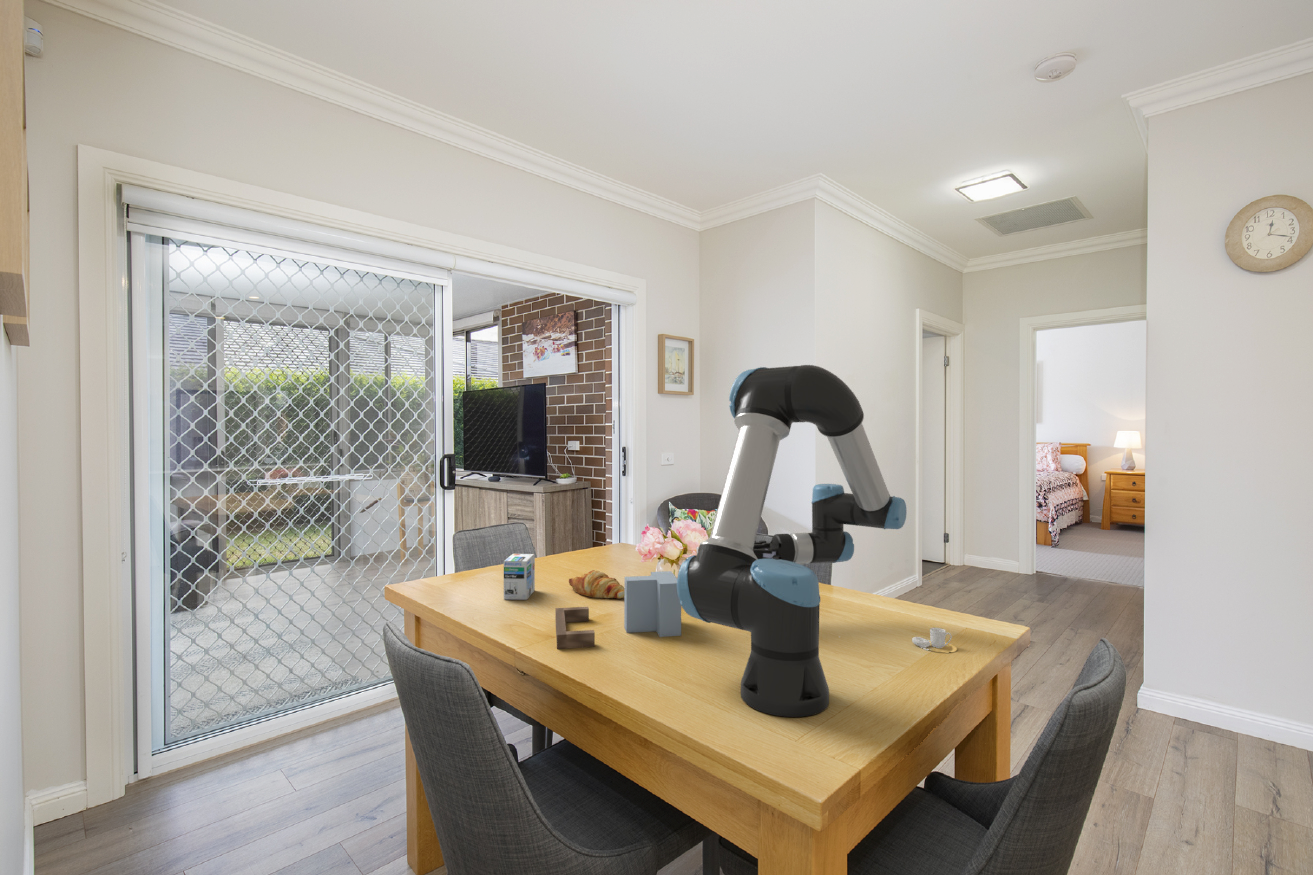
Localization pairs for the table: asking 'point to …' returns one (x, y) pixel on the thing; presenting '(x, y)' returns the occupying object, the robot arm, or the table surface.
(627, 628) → the t block
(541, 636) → the table surface
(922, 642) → the teacup and saucer
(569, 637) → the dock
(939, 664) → the table surface
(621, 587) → the croissant
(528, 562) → the light bulb box
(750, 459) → the robot arm
